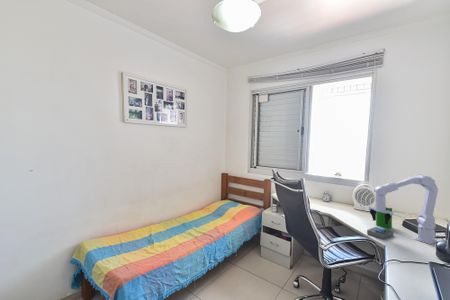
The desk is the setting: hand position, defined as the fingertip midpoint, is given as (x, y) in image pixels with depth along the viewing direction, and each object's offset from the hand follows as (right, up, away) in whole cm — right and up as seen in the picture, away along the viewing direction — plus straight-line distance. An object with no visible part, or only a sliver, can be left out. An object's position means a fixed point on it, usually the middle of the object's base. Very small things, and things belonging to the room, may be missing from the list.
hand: (380, 222), depth 142 cm
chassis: (0, -9, 0) cm, 9 cm away
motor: (+15, -9, +15) cm, 23 cm away
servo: (0, -9, 0) cm, 9 cm away
